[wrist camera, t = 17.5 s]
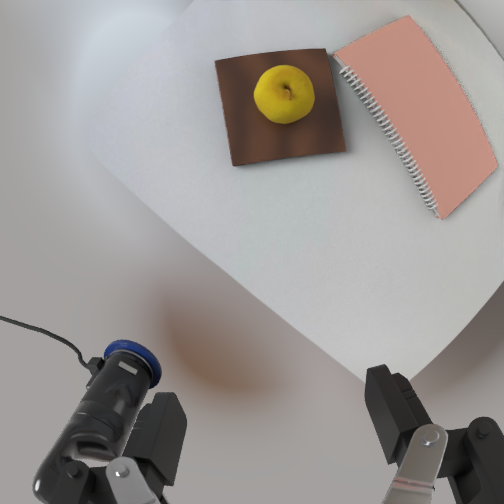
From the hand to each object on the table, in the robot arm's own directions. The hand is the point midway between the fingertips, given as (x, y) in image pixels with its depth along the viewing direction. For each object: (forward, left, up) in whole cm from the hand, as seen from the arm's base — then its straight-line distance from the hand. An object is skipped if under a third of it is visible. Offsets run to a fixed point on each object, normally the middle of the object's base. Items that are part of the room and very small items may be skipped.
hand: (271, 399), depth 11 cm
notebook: (+26, +14, -28) cm, 41 cm away
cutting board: (+5, +16, -28) cm, 33 cm away
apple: (+5, +16, -27) cm, 32 cm away
